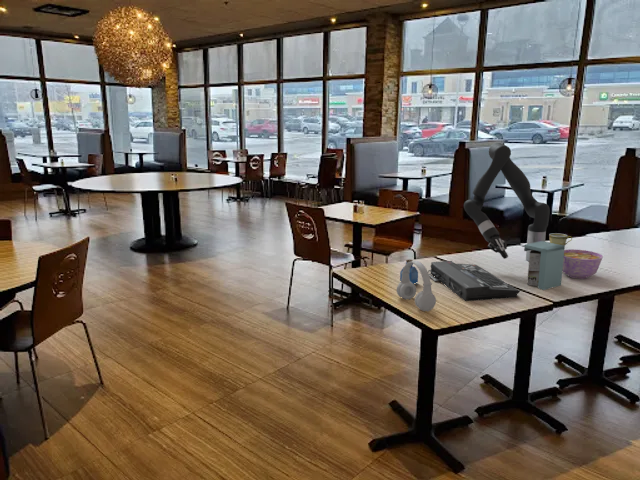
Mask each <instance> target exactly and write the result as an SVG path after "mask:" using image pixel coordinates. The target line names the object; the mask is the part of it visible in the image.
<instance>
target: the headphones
mask: <svg viewBox="0 0 640 480" xmlns="http://www.w3.org/2000/svg"><path fill="white" fill-rule="evenodd" d="M412 264H413V265H415V267H416V268H417V269H418V270H419V272H420V274H421V278H422V282H423V283H422V286H423V288H422V290H420V291H419V292H417V285H414V284H413V283H412V282H411V281H410V279H409V273H410V272H409V270H410V267H411V266H413V265H412ZM403 267H404V269H403V268H402V269H403V272H401V271H400V272H401V274H402V278H401V282H400V281H399V283H398V284H397V287H396V294H397V296H398V297H400V298H401V297H402V298H401V299H403V300H406V299H409V300H411V298H412V299H413V298H414V304H415V306H416V307H417V308H418V309H419V310H420V311H422V312H425V311H427V312H430V311H431V310H432V309H434V307H435V306H436V303H437V298H436V296H435V294H433V293H434V292H433V291H432V284H433V282H431V277H430V275H429V274H430V273H428V271H429V270H428V269H427V268H426V265H424V263H422V262H421V261H419V260H414V261H412V262H408V263H407V264H406V263H405V265H404V266H403ZM416 293H417V294H416ZM415 295H416V296H415Z"/></svg>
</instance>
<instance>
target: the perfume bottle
mask: <svg viewBox="0 0 640 480" xmlns="http://www.w3.org/2000/svg"><path fill="white" fill-rule="evenodd" d="M405 261H406V262H405V265H406V264H407V263H408V262H412V261H413V259H406V260H405ZM413 265H414V264H412V266H411V267H410V270H409V272H410V273H409V279H410V281H411V282H412V283H413V284H414V283H416V282H418V283H419V271H418V270H417V269H418V268H417V267H416V266H413ZM403 269H404V266H403V267H402V269H401V270H400V272H399V273H400V274H399V275H400V276H399V282H400V281H401V278H402V274H401V272H403Z"/></svg>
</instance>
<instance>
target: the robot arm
mask: <svg viewBox="0 0 640 480" xmlns="http://www.w3.org/2000/svg"><path fill="white" fill-rule="evenodd" d="M488 148H489V149H488V155H489V157H490V159H491V163H490V165H489V167H488V169H487V170H486V171H485V172H484V173H483V174H482V175H481V176H480V178H479V179H478V180H477V183H476V184H475V187H474V189H473V191H472V194H473V199H467V200H466V201H464V203H463V209H464V211H465V212H466V214H467V215H468V216H469V217H470V219H472V220H473V221H474V223H475V225H476V226H477V228H478V230H479V232H480V234H481V235H482V236H483V238H484V240H485V241H486V242H487V243H488V245H487V247H486V248H488V249H490V250H491V251H493V252H494V253H498V254H500V256H501V257H502V258H503V259H504V260H505V259H508V257H509V254H508V253H507V251H506V250H507V249H508V247H507V246H508V242H507V240H506V239H505V240H503V239H502V237H500V232H499V231H498V229H497V228H496V227H495V225H494V223H493V222H492V221H491V220H490V218H489V217H488V215H487V213H484V212H483V211H482V208H483V206H484V203H485V200H486V199H485V198H486V196H487V194H488V192H489V190H490V188H491V186H492V184H493V182H495V179H496V178H497V176H498V174H500V172H501V173H502V175H503V177H504V178H505V180H506V182H507V183H508V185H509V186H510V188H511V189H512V191H513V192H514V194H515V195H516V197H517V198H518V199H519V202H521V205H522V206H523V208H524V210H525V212H526V214H527V216H529V217H530V218H533V223H531V224H529V225H528V227H527V238H526V239H527V240H526V244H530V243H535V242H540V241H544V242H546V235H547V234H546V233H547V228H548V226H549V220H550V213H551V209H550V206H549V205H548V203H546V202H545V203H544V202H540V201H537V200H536V199H535V197H534V196H533V195H532V191H531V183H530V181H529V179H528V177H527V176H526V174H525V173H524V172H523V170H522V169H520V167H518V165H517V164H515V163H514V161H513V160H512V159H511V155H512V150H511V148H510V147H509V146H508V145H505V144H504V143H501V142H494V143H492V144H491V145H490V146H489V147H488ZM525 252H526V253H525V261H527V262H529V256H530V252H531V250H529V251H525Z"/></svg>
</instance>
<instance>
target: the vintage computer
mask: <svg viewBox="0 0 640 480" xmlns="http://www.w3.org/2000/svg"><path fill="white" fill-rule="evenodd" d="M427 271H428V274H429V277H430V279H432V280H433V281H435V282H440V281H441V282H442V283H443V284H442V283H441V282H440V283H441V284H442V285H444V284H445V285H446V286H447V287H448V288H447V287H446V286H445V285H444V286H445V287H446V288H447V289H449V288H450V289H451V290H452V291H451V290H450V289H449V290H450V291H451V292H453V294H455V293H456V294H457V295H456V294H455V295H456V296H458V298H460V299H462V301H464V302H478V301H488V300H489V301H490V300H501V299H502V300H503V299H513V298H517V297H518V294H519V293H520V292H521V291H520V290H519V289H517V288H515V287H513V286H512V285H510V284H508V283H507V282H505V281H504V280H502V279H501V278H499V277H497V275H494V274H492V273H491V272H489V271H488V270H486V269H484V268H483V267H481V266H479V265H477V264H473V263H472V264H470V263H456V262H454V261H453V260H444V261H431V263H430V269H429V270H427ZM429 272H430V273H429ZM431 274H432V275H433V276H432V275H431ZM434 276H435V277H434Z"/></svg>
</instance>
